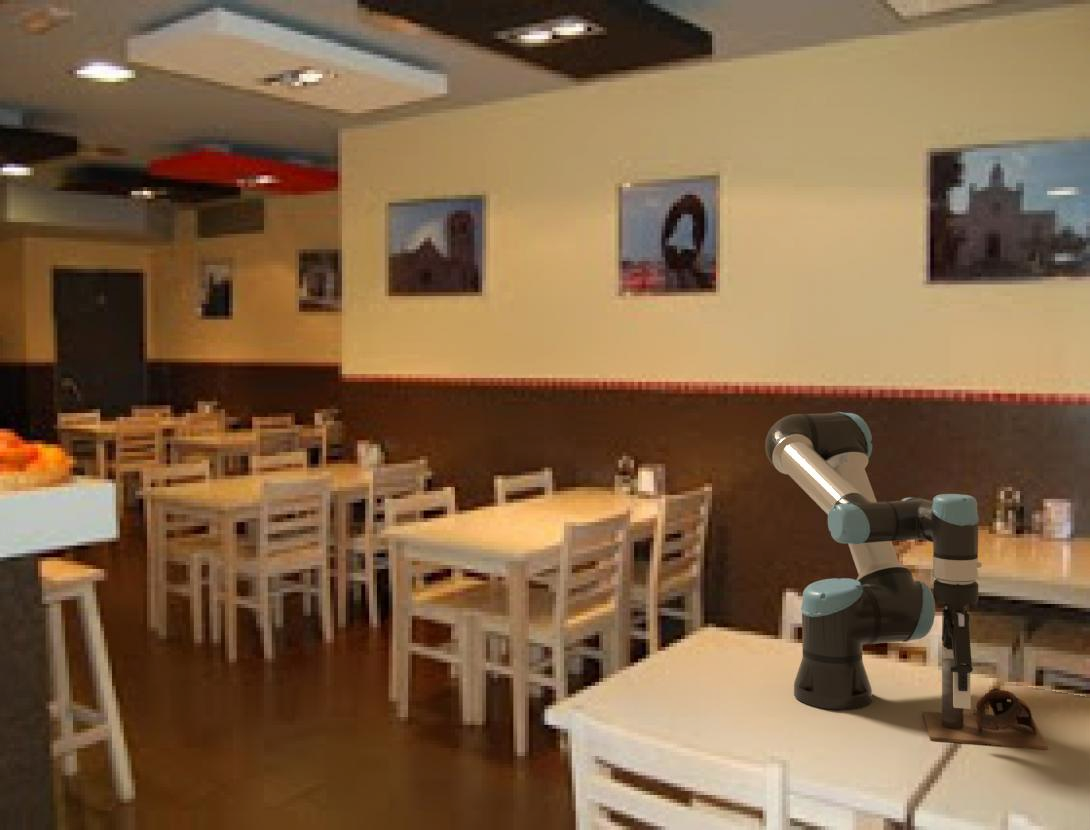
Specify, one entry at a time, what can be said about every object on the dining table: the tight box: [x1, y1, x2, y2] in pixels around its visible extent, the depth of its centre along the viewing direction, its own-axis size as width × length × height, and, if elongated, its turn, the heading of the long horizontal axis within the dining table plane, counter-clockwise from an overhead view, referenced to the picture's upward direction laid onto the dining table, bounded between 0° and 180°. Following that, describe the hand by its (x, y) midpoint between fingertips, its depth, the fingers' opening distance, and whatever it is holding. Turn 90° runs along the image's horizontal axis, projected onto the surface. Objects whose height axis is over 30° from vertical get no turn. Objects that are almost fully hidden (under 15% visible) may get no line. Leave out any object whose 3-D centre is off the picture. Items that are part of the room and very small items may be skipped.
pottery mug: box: [975, 688, 1037, 735], centre depth 175 cm, size 12×10×8 cm
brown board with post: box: [922, 658, 1049, 751], centre depth 176 cm, size 19×13×13 cm
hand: (956, 695), depth 177 cm, fingers open, 13 cm apart
